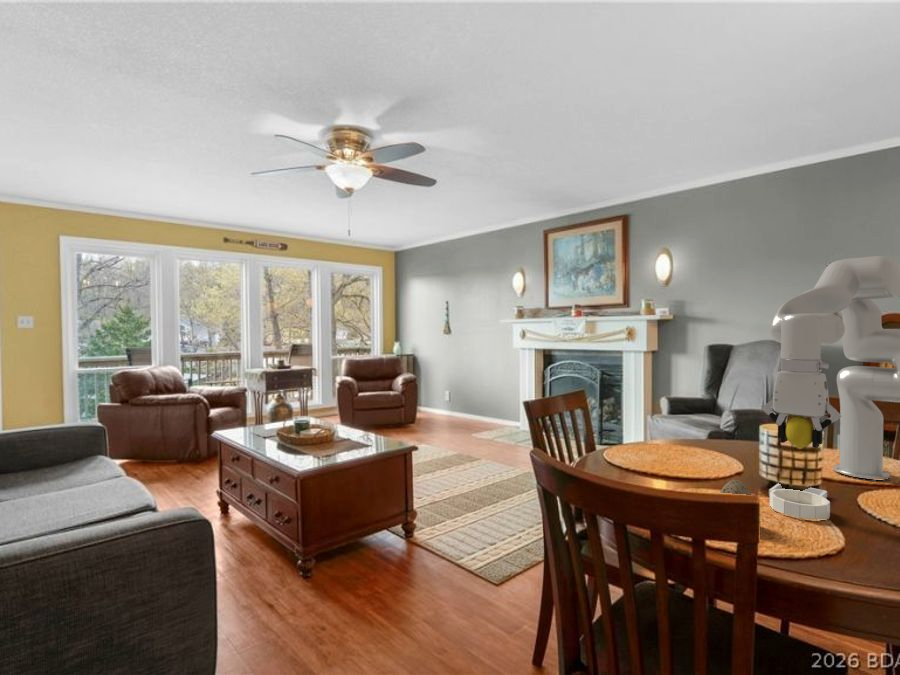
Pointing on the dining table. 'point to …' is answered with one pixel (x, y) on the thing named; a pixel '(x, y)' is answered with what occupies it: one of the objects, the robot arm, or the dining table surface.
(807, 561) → the dining table surface
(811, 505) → the bowl
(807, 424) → the lemon
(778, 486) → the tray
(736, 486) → the decorative egg
